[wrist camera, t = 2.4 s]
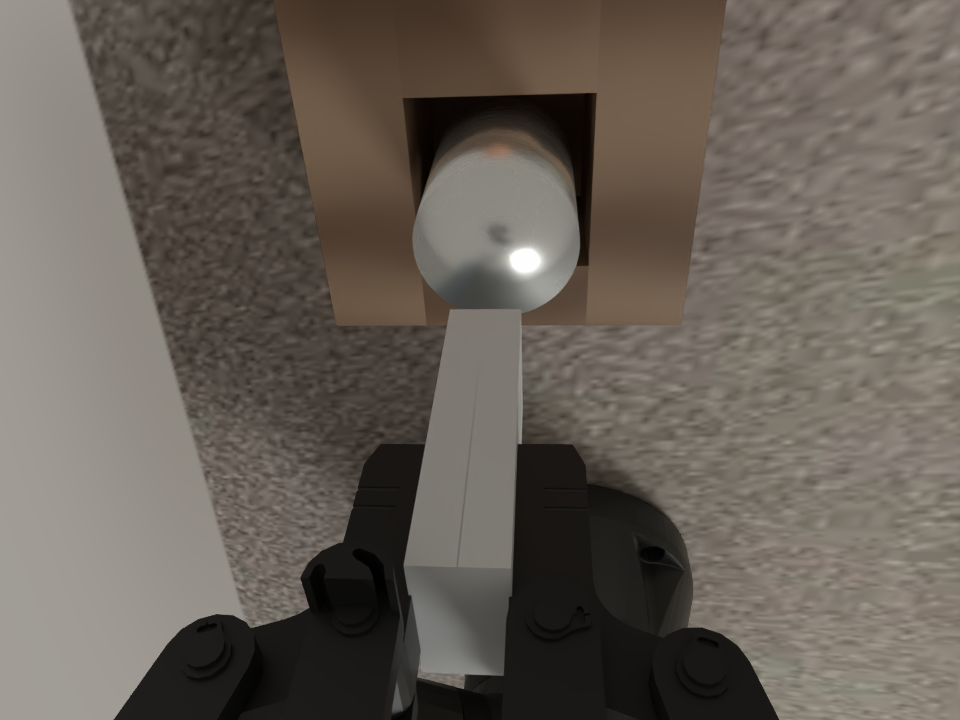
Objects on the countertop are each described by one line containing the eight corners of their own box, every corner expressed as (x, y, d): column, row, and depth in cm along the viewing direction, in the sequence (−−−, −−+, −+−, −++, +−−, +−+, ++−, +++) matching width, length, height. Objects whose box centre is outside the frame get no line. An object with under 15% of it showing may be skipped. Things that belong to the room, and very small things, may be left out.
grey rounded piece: (570, 228, 27) (577, 316, 22) (440, 229, 27) (420, 316, 23) (574, 95, 24) (583, 163, 19) (429, 99, 25) (404, 167, 20)
